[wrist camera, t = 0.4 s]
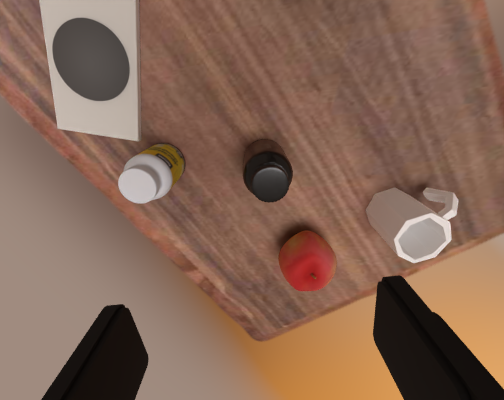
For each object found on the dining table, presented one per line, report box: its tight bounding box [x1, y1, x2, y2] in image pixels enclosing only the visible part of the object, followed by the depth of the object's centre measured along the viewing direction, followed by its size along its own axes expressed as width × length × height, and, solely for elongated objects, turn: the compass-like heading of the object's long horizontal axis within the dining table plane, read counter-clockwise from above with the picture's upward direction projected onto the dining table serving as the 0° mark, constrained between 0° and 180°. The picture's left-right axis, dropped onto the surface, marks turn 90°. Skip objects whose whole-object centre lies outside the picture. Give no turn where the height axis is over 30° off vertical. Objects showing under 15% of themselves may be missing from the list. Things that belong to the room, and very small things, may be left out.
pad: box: [52, 18, 130, 101], centre depth 35 cm, size 10×10×1 cm
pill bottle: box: [118, 143, 185, 203], centre depth 36 cm, size 6×6×12 cm
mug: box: [366, 187, 459, 263], centre depth 41 cm, size 12×9×10 cm
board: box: [39, 0, 141, 141], centre depth 35 cm, size 20×12×1 cm, turn 171°
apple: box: [279, 230, 337, 291], centre depth 44 cm, size 10×10×10 cm
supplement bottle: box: [243, 139, 293, 202], centre depth 36 cm, size 7×7×12 cm
